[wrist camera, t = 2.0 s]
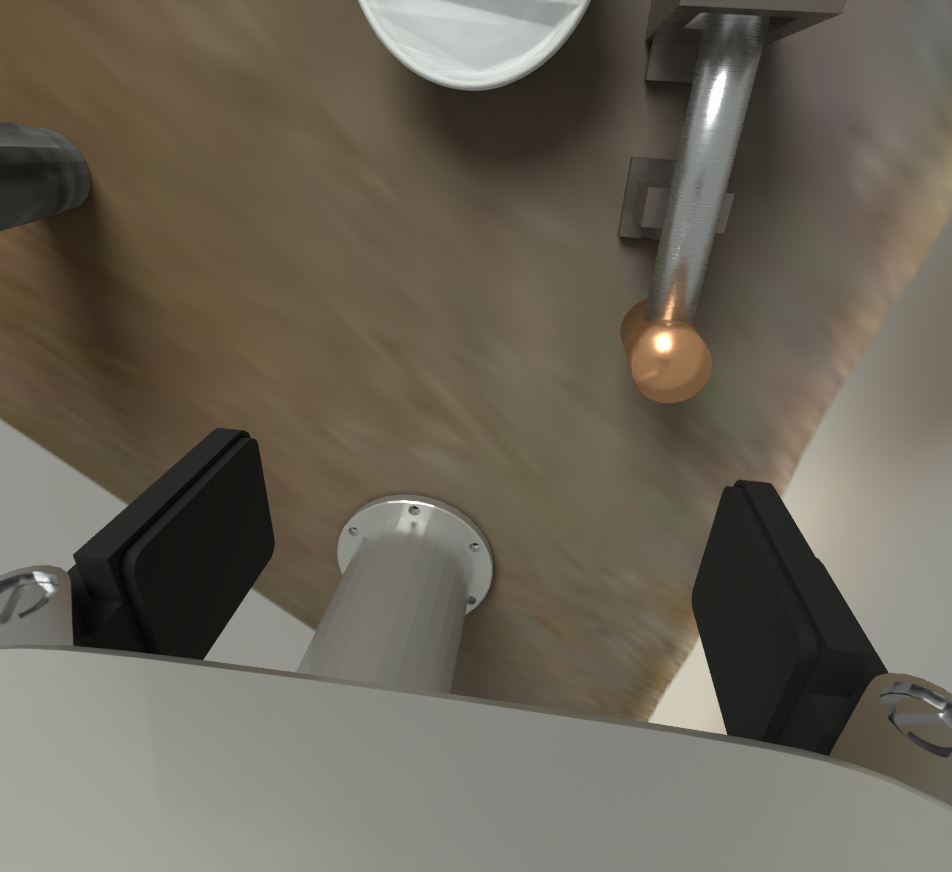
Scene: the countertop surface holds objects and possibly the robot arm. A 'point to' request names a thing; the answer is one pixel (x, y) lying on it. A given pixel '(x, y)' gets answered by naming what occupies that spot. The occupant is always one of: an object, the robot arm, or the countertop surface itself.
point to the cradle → (653, 199)
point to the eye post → (683, 19)
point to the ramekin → (473, 37)
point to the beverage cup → (38, 174)
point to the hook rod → (694, 213)
